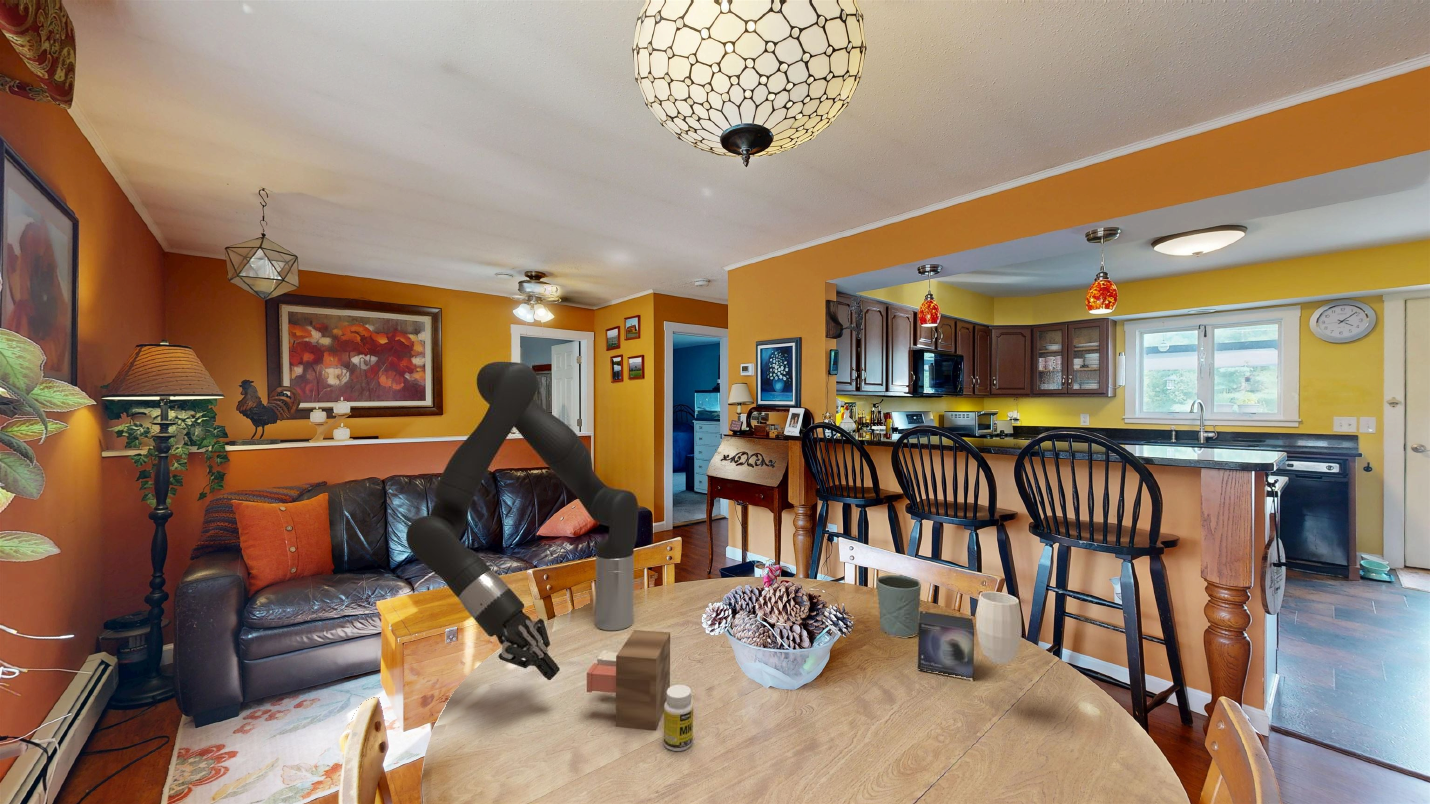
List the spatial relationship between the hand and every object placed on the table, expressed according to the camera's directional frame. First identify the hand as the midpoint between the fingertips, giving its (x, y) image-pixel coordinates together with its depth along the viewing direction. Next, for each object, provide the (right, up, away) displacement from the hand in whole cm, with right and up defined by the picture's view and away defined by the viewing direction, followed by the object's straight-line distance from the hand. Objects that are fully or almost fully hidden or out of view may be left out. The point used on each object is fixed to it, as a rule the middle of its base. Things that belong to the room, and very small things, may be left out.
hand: (554, 675), depth 96 cm
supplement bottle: (+23, -7, -9) cm, 25 cm away
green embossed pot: (+73, -7, +34) cm, 81 cm away
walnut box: (+16, -6, 0) cm, 17 cm away
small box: (+76, -7, +16) cm, 78 cm away
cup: (+79, -7, 0) cm, 79 cm away
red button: (+10, -2, -2) cm, 11 cm away
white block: (+11, -2, +3) cm, 12 cm away
